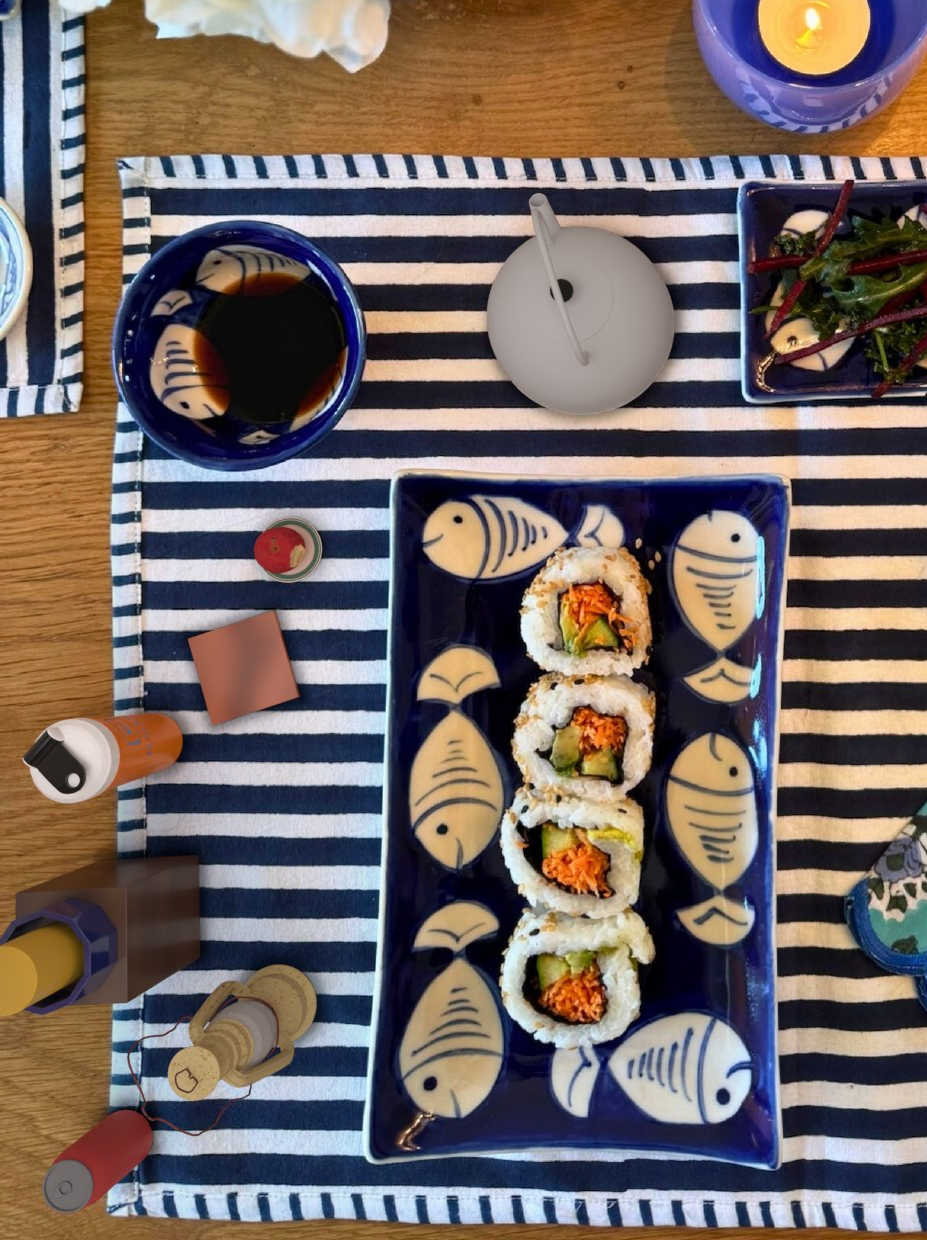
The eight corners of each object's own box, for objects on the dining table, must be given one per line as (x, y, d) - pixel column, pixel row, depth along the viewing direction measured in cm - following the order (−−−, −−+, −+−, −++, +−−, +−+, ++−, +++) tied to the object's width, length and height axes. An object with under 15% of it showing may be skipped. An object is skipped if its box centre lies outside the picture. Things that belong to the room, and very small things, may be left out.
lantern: (212, 996, 138) (60, 1104, 108) (274, 938, 139) (140, 1029, 109) (278, 1073, 137) (143, 1203, 108) (340, 1014, 138) (223, 1128, 108)
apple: (313, 509, 143) (292, 504, 137) (331, 571, 143) (310, 569, 136) (251, 529, 143) (227, 525, 137) (268, 591, 143) (245, 590, 136)
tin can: (40, 981, 123) (-31, 1018, 112) (40, 917, 124) (-31, 948, 113) (102, 978, 123) (37, 1014, 112) (101, 914, 124) (37, 944, 113)
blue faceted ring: (24, 1001, 123) (-7, 1018, 118) (24, 900, 124) (-7, 912, 119) (118, 996, 123) (90, 1012, 118) (117, 894, 124) (90, 907, 119)
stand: (101, 963, 139) (15, 1009, 123) (100, 860, 140) (14, 893, 124) (200, 957, 139) (127, 1003, 123) (199, 854, 140) (126, 886, 124)
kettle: (466, 250, 146) (412, 185, 124) (638, 196, 146) (615, 122, 124) (522, 438, 144) (477, 407, 121) (697, 383, 144) (685, 342, 121)
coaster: (214, 725, 141) (211, 725, 141) (189, 638, 142) (187, 638, 142) (300, 696, 141) (298, 697, 141) (275, 610, 142) (273, 610, 142)
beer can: (89, 1129, 137) (24, 1179, 125) (136, 1095, 137) (76, 1142, 126) (118, 1177, 137) (57, 1232, 125) (165, 1143, 137) (108, 1195, 125)
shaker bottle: (164, 793, 141) (65, 824, 121) (103, 754, 141) (-5, 778, 121) (205, 730, 141) (113, 750, 121) (145, 691, 142) (44, 705, 122)
